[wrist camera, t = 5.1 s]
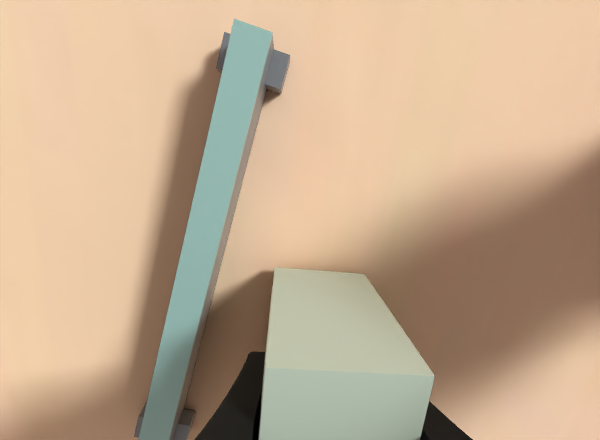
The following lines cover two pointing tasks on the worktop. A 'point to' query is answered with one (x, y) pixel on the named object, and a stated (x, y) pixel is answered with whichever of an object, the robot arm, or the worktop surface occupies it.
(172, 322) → the rail
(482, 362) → the worktop surface
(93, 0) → the worktop surface
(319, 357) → the soap box
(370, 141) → the worktop surface
